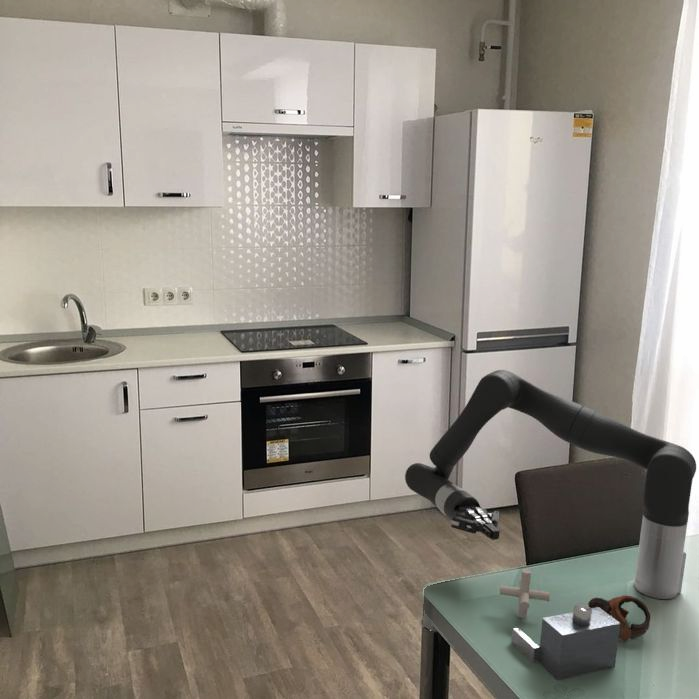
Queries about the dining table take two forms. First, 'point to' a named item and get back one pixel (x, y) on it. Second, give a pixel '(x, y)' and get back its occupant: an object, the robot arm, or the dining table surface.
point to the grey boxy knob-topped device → (573, 642)
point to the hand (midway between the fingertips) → (496, 535)
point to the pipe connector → (524, 593)
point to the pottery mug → (623, 615)
